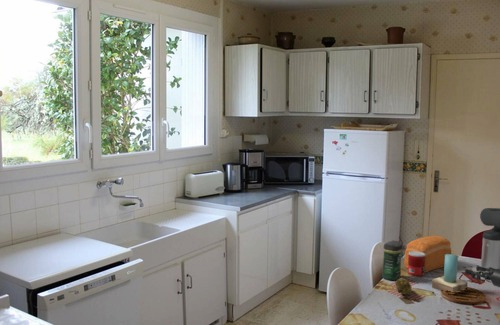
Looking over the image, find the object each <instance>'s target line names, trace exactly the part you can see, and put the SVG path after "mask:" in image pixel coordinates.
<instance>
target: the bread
mask: <svg viewBox="0 0 500 325" xmlns="http://www.w3.org/2000/svg"><path fill="white" fill-rule="evenodd" d="M450 241H451V240H448V239H447V238H445V237H444V236H438V235H430V236H424V237H420V238H417V239H414V240H412V241H410V242H409V243H407V244H406V249H405V253H404V255H405V256H404V267H405V268H406V269H408V256H409V252H411V251H417V252H422V253H424V254H425V268H424V273H428V272H430V271H434V270H438V269H440V268H443V267H444V265H445V255H446V254H452V247H451V242H450Z"/></svg>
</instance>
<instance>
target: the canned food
mask: <svg viewBox="0 0 500 325" xmlns="http://www.w3.org/2000/svg"><path fill="white" fill-rule="evenodd" d="M424 268H425V254H424V253H422V252H417V251H411V252H409V256H408V268H407V273H408V275H409V276H412V277H423V276H424V275H425V272H424Z"/></svg>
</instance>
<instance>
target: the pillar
mask: <svg viewBox="0 0 500 325" xmlns="http://www.w3.org/2000/svg"><path fill="white" fill-rule="evenodd" d="M458 258H459V256H458V255H456V254H452V253H451V254H446V255H445V265H444V269H443V276H444V281H445V282H449V283H455V282H456V278H457V276H458V273H457V272H458V260H459V259H458ZM457 279H458V278H457Z"/></svg>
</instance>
